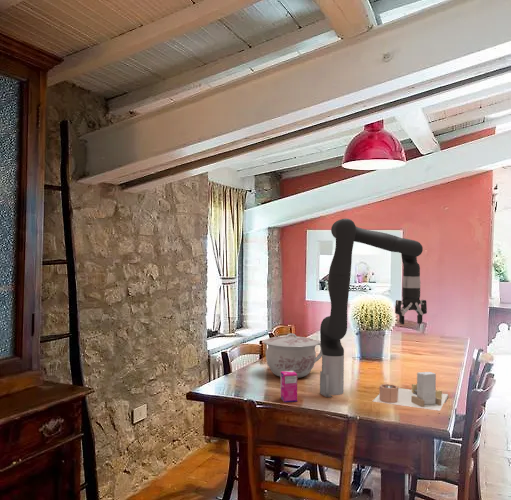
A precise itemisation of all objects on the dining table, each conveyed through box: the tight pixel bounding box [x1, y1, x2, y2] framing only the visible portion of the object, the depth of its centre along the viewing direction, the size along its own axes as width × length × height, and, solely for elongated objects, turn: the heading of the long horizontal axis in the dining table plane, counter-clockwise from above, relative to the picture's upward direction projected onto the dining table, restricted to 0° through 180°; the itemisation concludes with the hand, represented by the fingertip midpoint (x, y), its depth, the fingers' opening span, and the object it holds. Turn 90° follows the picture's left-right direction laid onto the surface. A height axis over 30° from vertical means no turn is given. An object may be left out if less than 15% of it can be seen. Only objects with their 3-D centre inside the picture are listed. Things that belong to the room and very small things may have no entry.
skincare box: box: [416, 371, 437, 405], centre depth 209 cm, size 6×4×12 cm
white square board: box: [372, 383, 449, 415], centre depth 218 cm, size 26×26×5 cm
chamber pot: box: [262, 333, 322, 379], centre depth 259 cm, size 28×28×21 cm
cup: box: [379, 383, 399, 404], centre depth 214 cm, size 7×7×6 cm
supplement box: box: [280, 371, 298, 403], centre depth 216 cm, size 6×6×12 cm
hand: (410, 324), depth 229 cm, fingers open, 8 cm apart
